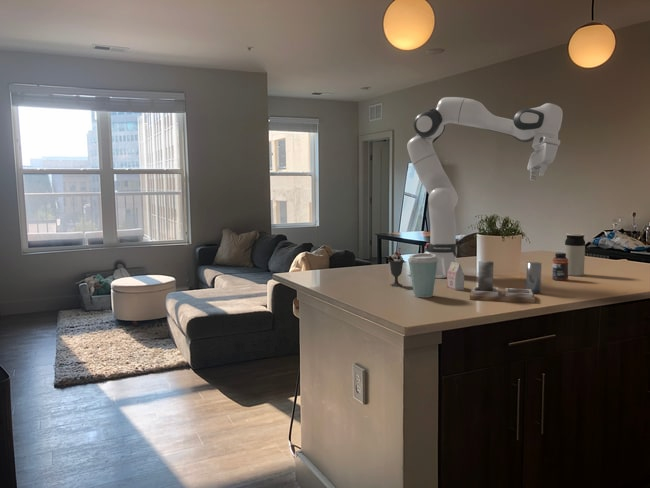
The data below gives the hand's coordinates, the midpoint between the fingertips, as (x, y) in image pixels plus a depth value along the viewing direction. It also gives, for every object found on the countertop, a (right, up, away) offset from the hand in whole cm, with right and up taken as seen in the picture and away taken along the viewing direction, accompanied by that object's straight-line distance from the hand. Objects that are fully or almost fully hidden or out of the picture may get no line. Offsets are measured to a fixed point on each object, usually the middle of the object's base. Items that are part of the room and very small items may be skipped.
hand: (536, 177), depth 208 cm
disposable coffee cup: (-49, -45, -19) cm, 69 cm away
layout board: (-22, -45, -24) cm, 56 cm away
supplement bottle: (+14, -41, +10) cm, 45 cm away
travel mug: (+25, -40, +22) cm, 52 cm away
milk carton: (-34, -44, -5) cm, 55 cm away
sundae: (-55, -43, +2) cm, 70 cm away
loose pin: (-7, -44, -15) cm, 47 cm away
